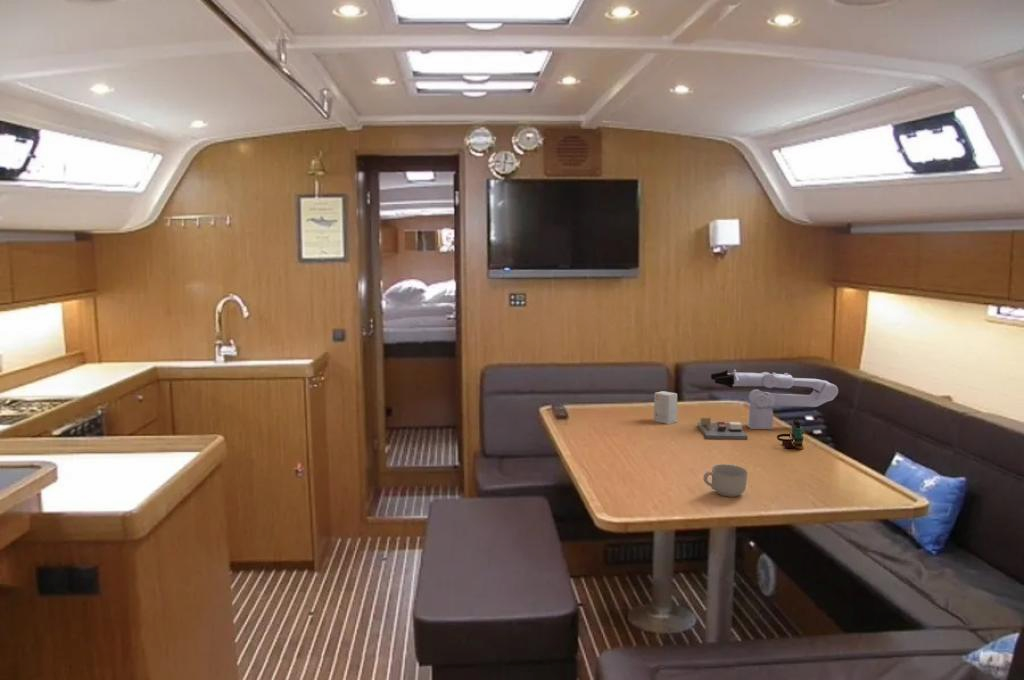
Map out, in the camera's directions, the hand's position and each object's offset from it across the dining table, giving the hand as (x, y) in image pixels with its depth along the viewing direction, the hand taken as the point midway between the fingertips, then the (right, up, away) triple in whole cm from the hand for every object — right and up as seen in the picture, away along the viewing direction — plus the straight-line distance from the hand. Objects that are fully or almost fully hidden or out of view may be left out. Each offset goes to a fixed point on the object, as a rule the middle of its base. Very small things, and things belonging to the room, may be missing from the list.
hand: (713, 378), depth 317 cm
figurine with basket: (+22, -25, -29) cm, 44 cm away
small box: (-18, -20, +13) cm, 30 cm away
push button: (+6, -20, -10) cm, 23 cm away
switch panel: (+2, -22, -7) cm, 23 cm away
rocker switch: (+1, -19, -9) cm, 22 cm away
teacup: (-19, -32, -83) cm, 91 cm away
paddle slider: (-4, -20, -2) cm, 20 cm away
